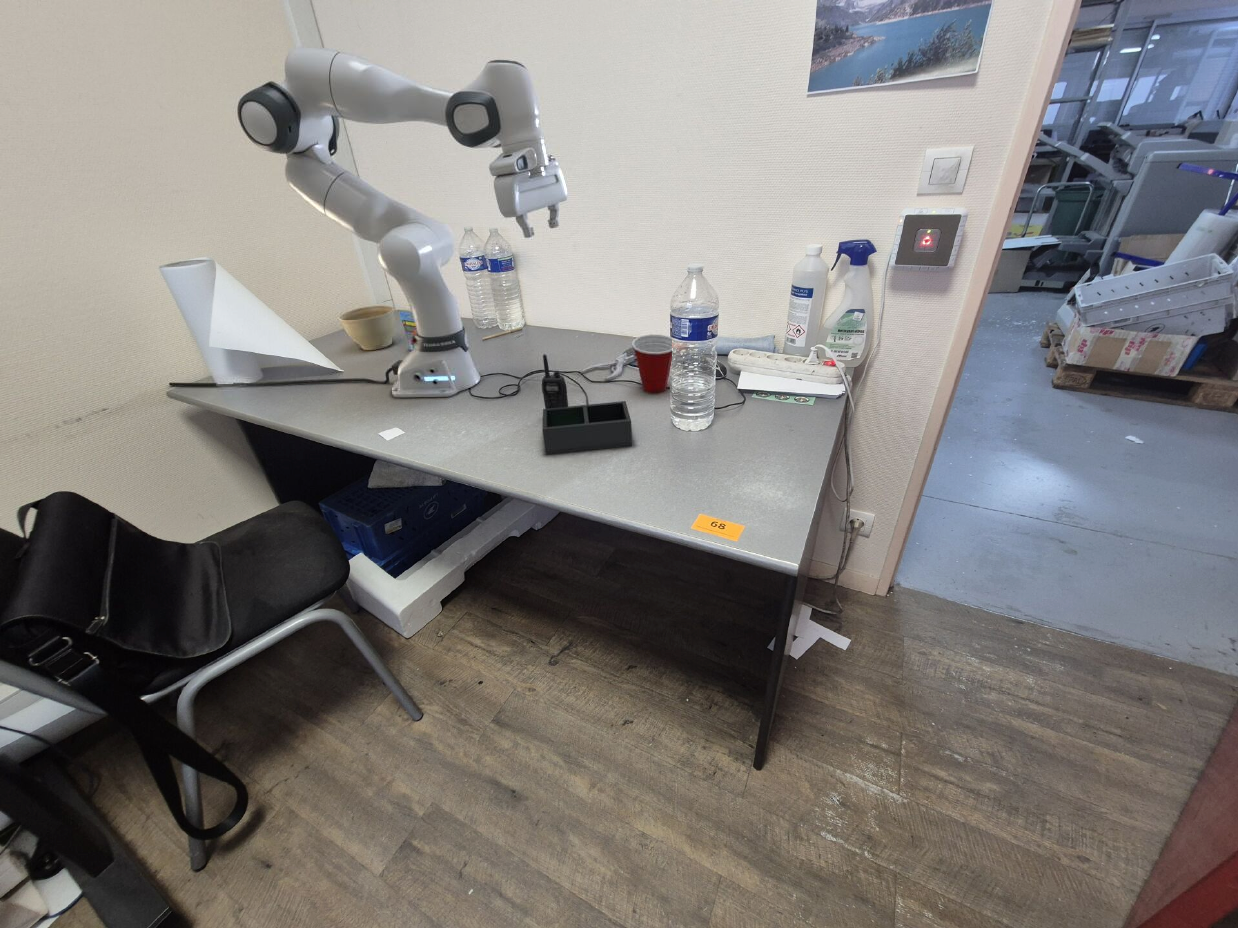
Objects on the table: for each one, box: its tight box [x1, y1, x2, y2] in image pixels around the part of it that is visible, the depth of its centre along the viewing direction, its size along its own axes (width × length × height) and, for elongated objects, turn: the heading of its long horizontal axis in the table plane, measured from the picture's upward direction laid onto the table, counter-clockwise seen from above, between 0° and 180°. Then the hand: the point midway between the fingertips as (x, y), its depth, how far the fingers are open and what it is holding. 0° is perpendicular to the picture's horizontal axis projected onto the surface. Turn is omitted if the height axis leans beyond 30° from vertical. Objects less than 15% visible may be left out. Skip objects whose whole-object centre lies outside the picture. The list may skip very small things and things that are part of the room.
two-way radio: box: [541, 353, 569, 409], centre depth 110 cm, size 6×4×15 cm
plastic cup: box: [631, 333, 673, 394], centre depth 121 cm, size 11×11×12 cm
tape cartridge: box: [398, 310, 417, 351], centre depth 154 cm, size 9×4×12 cm, turn 58°
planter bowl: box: [338, 305, 396, 351], centre depth 161 cm, size 16×16×11 cm
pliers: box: [580, 352, 636, 382], centre depth 137 cm, size 10×2×15 cm
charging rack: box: [541, 400, 633, 456], centre depth 103 cm, size 9×17×6 cm, turn 96°
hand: (542, 232), depth 110 cm, fingers open, 8 cm apart
